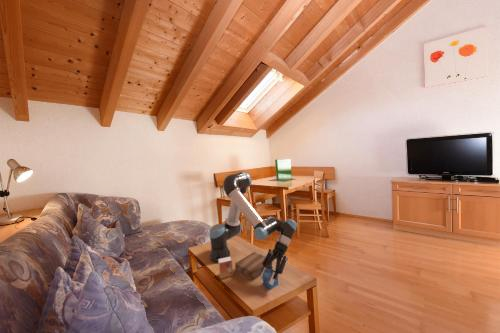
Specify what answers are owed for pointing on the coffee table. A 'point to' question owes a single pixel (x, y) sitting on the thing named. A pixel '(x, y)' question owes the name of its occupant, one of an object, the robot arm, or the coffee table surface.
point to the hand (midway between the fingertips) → (265, 281)
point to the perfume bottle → (269, 277)
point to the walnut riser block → (251, 266)
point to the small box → (225, 267)
